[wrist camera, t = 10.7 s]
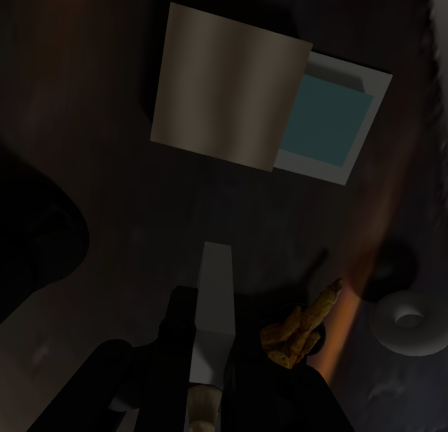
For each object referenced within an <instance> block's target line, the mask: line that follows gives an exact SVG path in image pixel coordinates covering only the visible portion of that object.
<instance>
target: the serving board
mask: <svg viewBox="0 0 448 432" xmlns="http://www.w3.org/2000/svg"><path fill="white" fill-rule="evenodd" d="M312 46H313V43H309V42H306V41H302V40H299V39H295V38H292V37H289V36H285V35H282V34H278V33H275V32H272V31H268V30H265V29H261V28H258V27H254V26H251V25H248V24H244V23H241V22H237V21H234V20H231V19H227V18H224V17H220V16H217V15H213V14H210V13H207V12H203V11H200V10H196V9H193V8H189V7H186V6H183V5H179V4H176V3H172V2H171V3H170V10H169V17H168V23H167V30H166V37H165V44H164V50H163V57H162V64H161V71H160V77H159V84H158V91H157V98H156V105H155V111H154V118H153V125H152V132H151V138H150V140H151V141H154V142H158V143H162V144H166V145H170V146H174V147H177V148H181V149H185V150H189V151H193V152H197V153H200V154H204V155H208V156H212V157H216V158H220V159H223V160H227V161H231V162H235V163H239V164H242V165H246V166H250V167H254V168H258V169H262V170H265V171H269V172H272V169H273V166H274V163H275V160H276V156H277V153H278V150H279V147H280V144H281V141H282V138H283V135H284V132H285V129H286V126H287V123H288V120H289V116H290V113H291V110H292V107H293V104H294V101H295V98H296V95H297V92H298V89H299V86H300V83H301V80H302V77H303V73H304V70H305V67H306V64H307V61H308V58H309V55H310V52H311V49H312Z"/></svg>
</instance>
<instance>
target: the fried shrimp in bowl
mask: <svg viewBox="0 0 448 432" xmlns="http://www.w3.org/2000/svg"><path fill="white" fill-rule="evenodd" d="M343 286H344V282H343V279H342V278H341V277H339V278H338V279H336V281H334V282H333V283H332V284H331V285H328V286H327V287H326V289H325V291H323V292H321V293H320V295H319V297H318V298H317V299H316V300H315V302H314V303H313V304H312V305H310V306H307V305H306V304H302V303H294V302H293V303H288V304H286V305H284V306H283V307H281V308H280V310H279V311H278V313H277V315H276V318H267V319H264V320H262V321H261V322H259V323H258V325H259V331H260V337H261V344H262V348H263V349H264V350H265V351H266V352H267V355H268V357H269V358H270V359H271V360H272V361H274V362H275V363H277V364H279V365H281V366H284V367H286V368H288V369H291V368H292V367H293V366H294V365H296V364H307V356H311V355H314V354H317V353H318V352H319V351H320V350H321V349H322V348H323V346H324V344H325V340H326V329H325V326H324V323H323V321H322V319H323V317H324V316H325V315H326V314H327V313H328V312H329V311H330V309H331V308H332V306H333V305H334V304H335V303H336V301H337V298H338V295H339V292H340V291H341V290H342V288H343Z"/></svg>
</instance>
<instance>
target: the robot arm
mask: <svg viewBox="0 0 448 432" xmlns="http://www.w3.org/2000/svg"><path fill="white" fill-rule="evenodd" d="M88 248H89V233H88V229H87V225H86V223H85V220H84V218H83V217H82V215H81V213H80V212H79V210H78V209H77V208H76V206H75V205H74V204H73V203H72V202H71V201H70V200H69V199H68V198H67V197H65V196H64V195H63V194H62V193H60V192H59V191H57V190H55V189H54V188H52V187H50V186H47V185H45V184H42V183H39V182H35V181H30V180H14V181H9V182H6V183H3V184H0V324H1V323H2V322H3V321H4V320H5V319H6V318H7V317H8V316H9V315H10V314H11V313H12V312H13V311H14V310H15V309H17V308H18V307H19V306H20V305H21V304H22V303H23V302H24V301H25V300H26V299H27V298H28V297H29V296H30V295H31V294H32V293H33V292H35V291H37V290H39V289H41V288H43V287H45V286H46V285H48V284H50V283H54V282H57V281H59V280H62V279H64V278H65V277H67V276H68V275H70V274H71V273H72V272H73V271H74V270H75V269H76V268H77V267H78V266H79V265H80V264H81V263H82V261H83V260H84V258H85V257H86V254H87V252H88ZM257 319H258V318H257V314H256V305H255V303H254V301H253V300H252V298H251V297H250V296H247V295H241V294H234V293H233V277H232V258H231V246H228V245H222V244H216V243H210V242H205V245H204V250H203V255H202V261H201V266H200V271H199V276H198V282H197V288H191V287H185V286H177V287H176V288H175V289H174V290H173V291H172V293H171V297H170V301H169V304H168V308H167V312H166V316H165V319H164V320H162V322H161V324H160V325H159V332H158V338H157V339H156V340H155V341H154V342H153V343H150V344H148V345H145V346H140V347H132V346H131V344H130V343H128V342H126V341H125V340H120V339H113V340H108V341H106V342H104V343H102V344H101V345H99V346H98V347H97V348H96V349H95V350H94V351H93V353H92V354H91V355H90V356H89V357H88V359H87V360H86V361H85V362H84V363H83V365H82V366H81V367H80V368H79V369H78V370H77V372H76V373H75V374H74V375H73V376H72V378H71V379H70V380H69V381H68V382H67V384H66V385H65V386H64V387H63V388H62V390H61V391H60V392H59V393H58V394H57V396H56V397H55V398H54V399H53V400H52V402H51V403H50V404H49V405H48V406H47V408H46V409H45V410H44V411H43V412H42V414H41V415H40V416H39V417H38V418H37V419H36V421H35V422H34V423H33V424H32V425H31V427H30V428H29V429H28V430H27V431H26V432H116V430H117V429H118V427H119V425H120V423H121V421H122V420H123V418H124V416H125V414H126V412H127V411H128V410H132V409H137V408H140V409H139V413H138V417H137V421H136V425H135V428H134V432H183V431H184V422H185V414H186V405H187V396H188V388H189V382H196V383H203V384H211V385H219V386H221V385H222V382H223V378H224V390H223V393H222V397H221V400H220V404H219V407H218V412H217V413H220V412H221V432H355V431H354V429H353V427H352V426H351V424H350V422H349V421H348V419H347V417H346V416H345V414H344V412H343V410H342V409H341V407H340V405H339V404H338V402H337V400H336V399H335V397H334V395H333V393H332V392H331V390H330V388H329V387H328V385H327V383H326V382H325V380H324V378H323V377H322V376H321V374H320V373H319V372H318V371H317V370H315V369H314V368H313V367H311V366H308V365H306V364H296V365H294V366H293V367H292V368H291V369H288V368H286V367H284V366H281V365H279V364H277V363H275V362H274V361H272V360H271V359H270V358H269V357H268V355H267V352H266V351H265V350H264V349H263V348H262V344H261V337H260V331H259V325H258V320H257Z"/></svg>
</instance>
